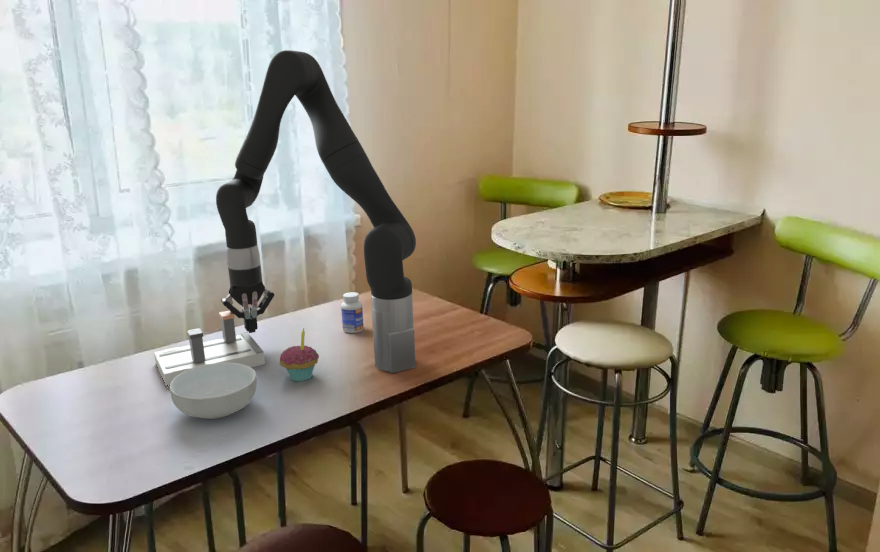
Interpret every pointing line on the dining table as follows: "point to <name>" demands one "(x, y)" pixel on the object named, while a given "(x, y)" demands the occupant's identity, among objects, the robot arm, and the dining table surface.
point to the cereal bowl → (213, 389)
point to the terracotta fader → (228, 326)
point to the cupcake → (299, 361)
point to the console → (209, 356)
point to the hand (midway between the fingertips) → (251, 331)
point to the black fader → (196, 345)
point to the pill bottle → (352, 313)
